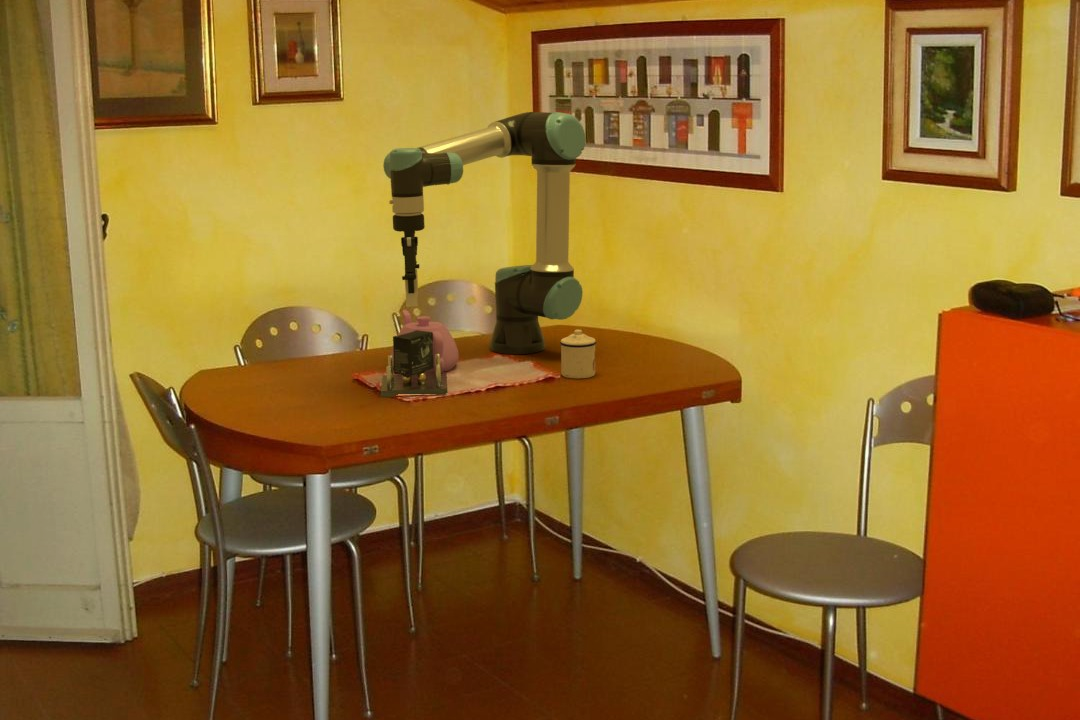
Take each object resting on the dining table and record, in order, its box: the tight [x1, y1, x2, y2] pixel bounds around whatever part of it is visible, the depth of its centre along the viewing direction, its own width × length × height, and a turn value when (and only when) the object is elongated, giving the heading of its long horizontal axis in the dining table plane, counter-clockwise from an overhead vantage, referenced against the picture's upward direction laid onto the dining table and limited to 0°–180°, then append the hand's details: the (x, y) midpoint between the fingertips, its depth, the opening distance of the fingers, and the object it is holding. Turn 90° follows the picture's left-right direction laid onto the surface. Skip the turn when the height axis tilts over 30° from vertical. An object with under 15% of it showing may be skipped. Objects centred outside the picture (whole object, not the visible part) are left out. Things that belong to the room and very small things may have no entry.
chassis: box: [380, 353, 448, 398], centre depth 326 cm, size 16×16×7 cm
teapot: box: [390, 309, 460, 374], centre depth 347 cm, size 25×18×14 cm
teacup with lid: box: [559, 329, 597, 380], centre depth 337 cm, size 12×9×12 cm
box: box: [392, 330, 434, 376], centre depth 325 cm, size 9×6×10 cm, turn 147°
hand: (412, 300), depth 322 cm, fingers open, 13 cm apart
